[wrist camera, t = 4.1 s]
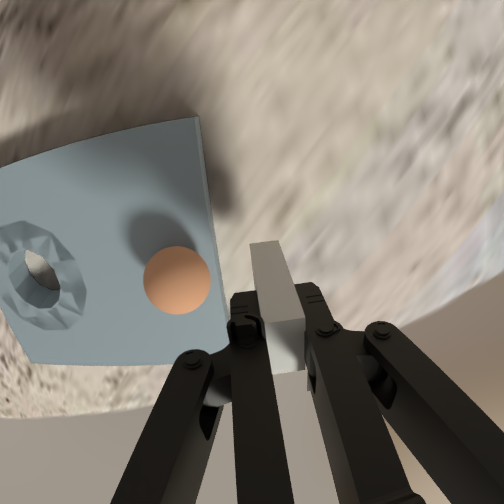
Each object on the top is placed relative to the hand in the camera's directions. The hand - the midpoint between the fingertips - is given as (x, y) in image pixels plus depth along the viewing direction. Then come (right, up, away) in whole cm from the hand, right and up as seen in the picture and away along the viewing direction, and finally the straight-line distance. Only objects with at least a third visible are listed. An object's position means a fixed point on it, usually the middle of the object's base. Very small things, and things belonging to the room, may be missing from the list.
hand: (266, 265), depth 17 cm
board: (-12, 0, +3) cm, 12 cm away
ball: (-5, -1, -1) cm, 5 cm away
